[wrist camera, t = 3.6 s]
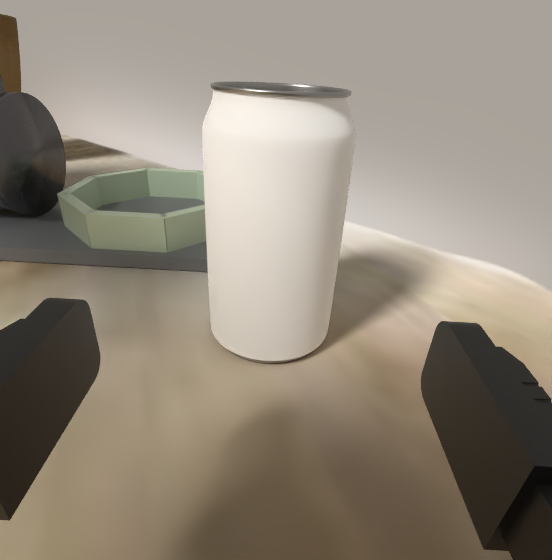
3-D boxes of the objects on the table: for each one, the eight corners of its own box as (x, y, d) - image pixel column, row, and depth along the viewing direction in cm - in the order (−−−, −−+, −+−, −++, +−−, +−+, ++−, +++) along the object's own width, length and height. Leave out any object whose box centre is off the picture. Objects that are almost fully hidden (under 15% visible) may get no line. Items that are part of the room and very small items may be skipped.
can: (236, 288, 25) (235, 79, 19) (335, 308, 23) (369, 88, 17) (189, 350, 19) (167, 83, 13) (315, 381, 18) (352, 97, 12)
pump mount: (-118, 253, 27) (-143, 204, 25) (9, 193, 39) (-1, 158, 37) (229, 272, 27) (228, 225, 25) (247, 206, 39) (248, 171, 37)
